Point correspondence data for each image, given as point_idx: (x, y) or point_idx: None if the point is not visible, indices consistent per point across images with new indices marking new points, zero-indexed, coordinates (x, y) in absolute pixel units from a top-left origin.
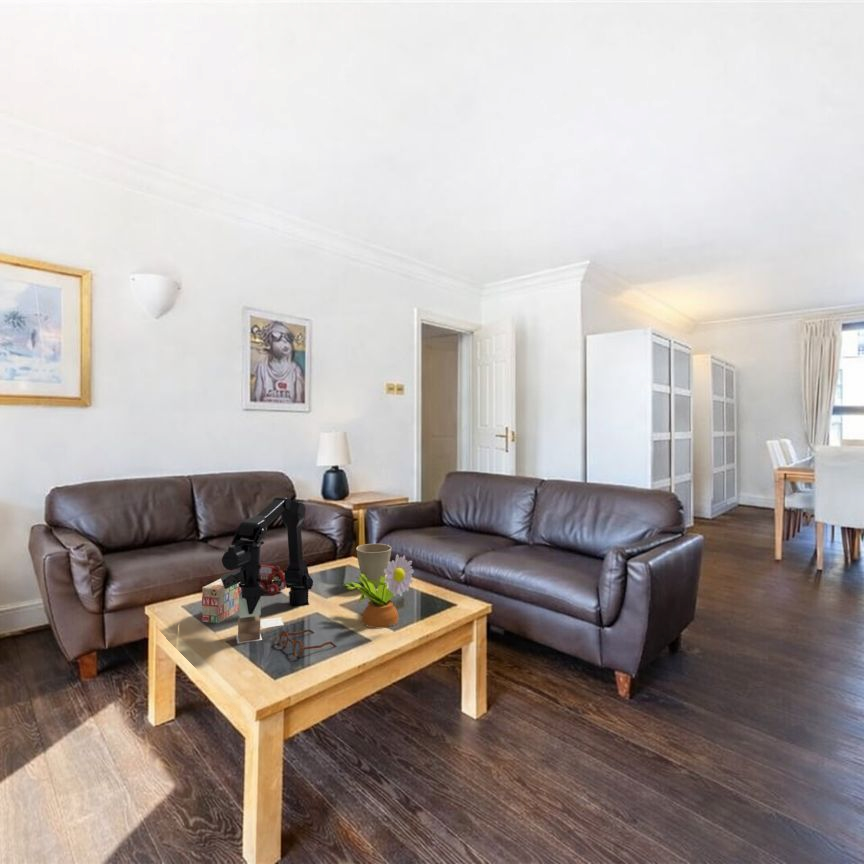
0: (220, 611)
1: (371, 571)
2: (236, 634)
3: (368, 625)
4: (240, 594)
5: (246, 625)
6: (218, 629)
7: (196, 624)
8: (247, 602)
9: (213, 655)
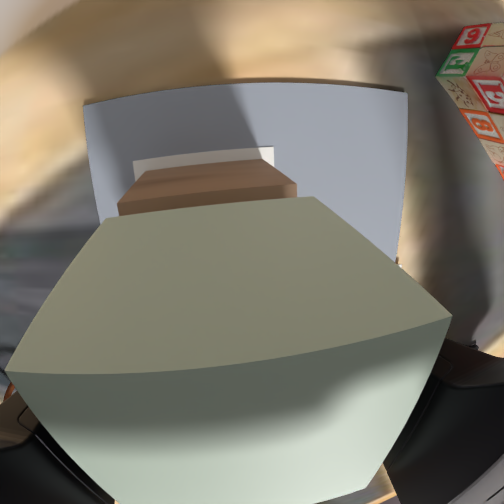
0: (489, 95)
1: None
2: (267, 150)
3: None
4: (310, 370)
5: None
6: (382, 67)
7: (452, 3)
8: (9, 407)
9: (46, 58)
